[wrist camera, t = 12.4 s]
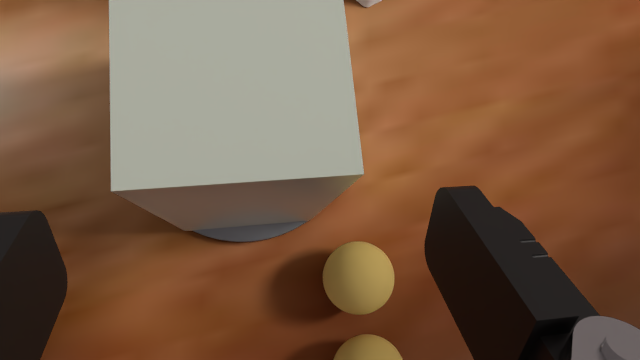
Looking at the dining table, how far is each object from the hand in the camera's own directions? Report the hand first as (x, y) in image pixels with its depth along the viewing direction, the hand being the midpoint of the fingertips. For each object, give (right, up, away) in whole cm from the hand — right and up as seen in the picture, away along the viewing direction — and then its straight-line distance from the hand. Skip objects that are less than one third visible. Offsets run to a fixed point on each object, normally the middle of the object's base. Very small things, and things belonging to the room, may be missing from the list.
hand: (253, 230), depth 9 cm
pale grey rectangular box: (-2, +3, +11) cm, 11 cm away
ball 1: (+3, -3, +11) cm, 11 cm away
